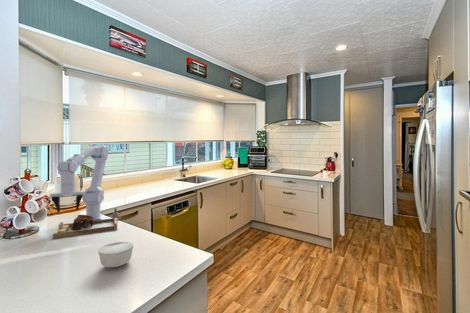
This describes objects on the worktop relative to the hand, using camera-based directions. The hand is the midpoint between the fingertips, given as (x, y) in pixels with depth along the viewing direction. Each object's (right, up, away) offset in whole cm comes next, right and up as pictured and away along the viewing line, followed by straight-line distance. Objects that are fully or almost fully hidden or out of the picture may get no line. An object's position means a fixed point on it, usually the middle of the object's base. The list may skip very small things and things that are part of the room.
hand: (68, 210), depth 116 cm
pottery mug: (+7, -11, 0) cm, 13 cm away
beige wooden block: (0, -10, -3) cm, 10 cm away
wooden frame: (+9, -10, +2) cm, 14 cm away
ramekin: (+43, -10, -35) cm, 56 cm away
